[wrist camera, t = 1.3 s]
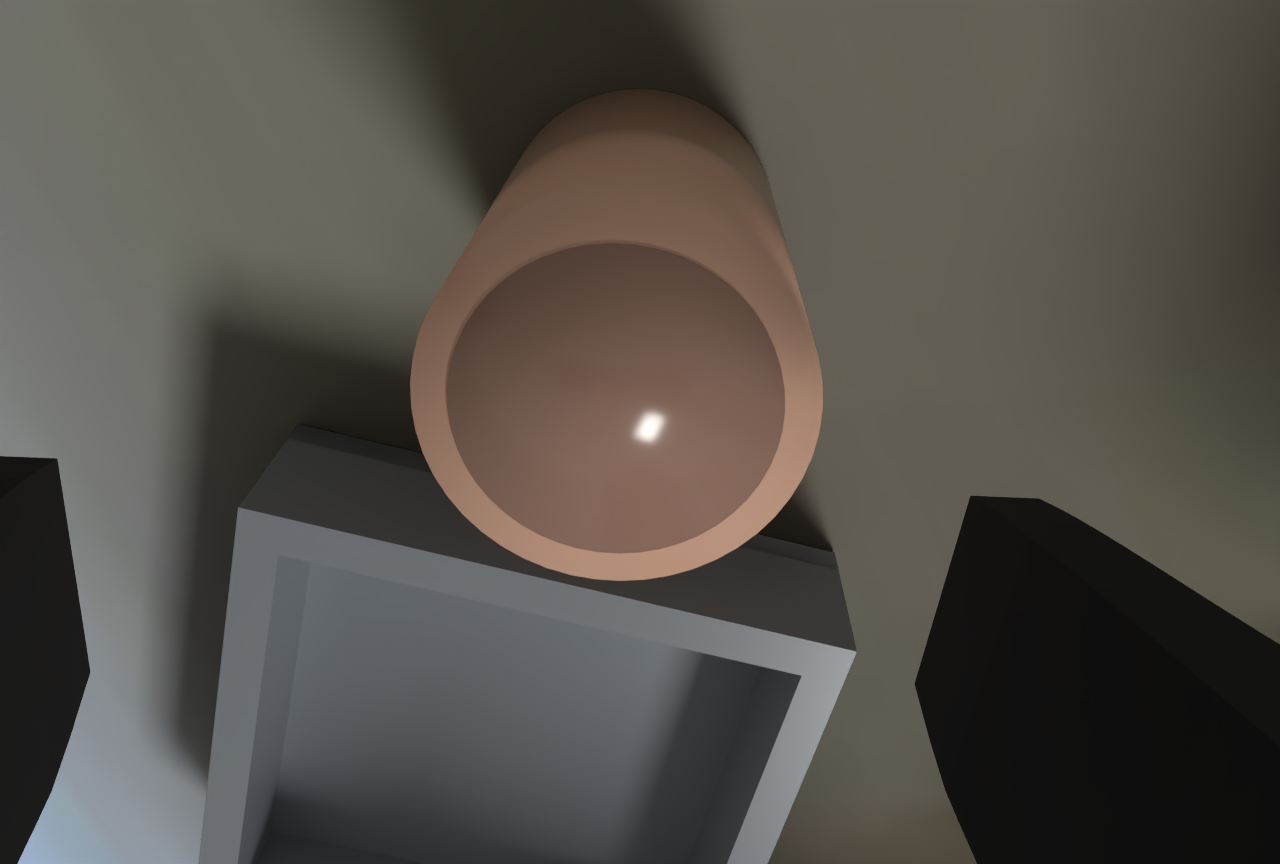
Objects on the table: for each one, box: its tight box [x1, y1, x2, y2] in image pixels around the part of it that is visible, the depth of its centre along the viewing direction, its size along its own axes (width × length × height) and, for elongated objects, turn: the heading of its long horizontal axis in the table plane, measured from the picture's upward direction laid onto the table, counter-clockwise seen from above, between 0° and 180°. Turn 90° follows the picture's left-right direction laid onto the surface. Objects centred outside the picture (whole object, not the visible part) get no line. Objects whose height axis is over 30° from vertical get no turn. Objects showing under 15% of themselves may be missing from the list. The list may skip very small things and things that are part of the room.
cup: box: [410, 89, 823, 581], centre depth 15 cm, size 4×4×7 cm
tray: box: [199, 424, 857, 864], centre depth 21 cm, size 10×10×3 cm
